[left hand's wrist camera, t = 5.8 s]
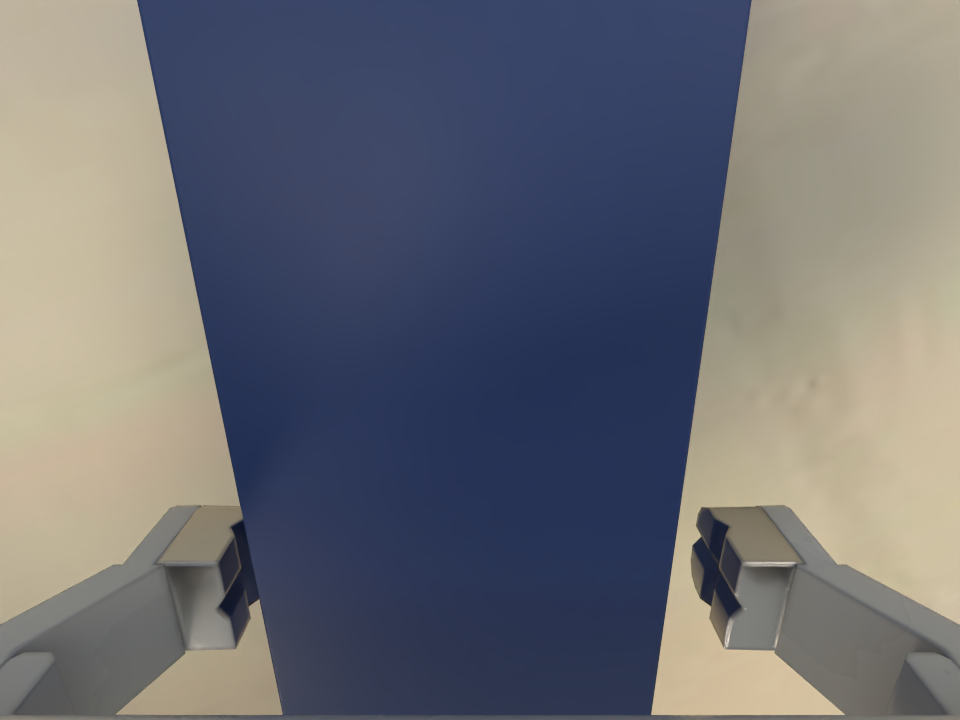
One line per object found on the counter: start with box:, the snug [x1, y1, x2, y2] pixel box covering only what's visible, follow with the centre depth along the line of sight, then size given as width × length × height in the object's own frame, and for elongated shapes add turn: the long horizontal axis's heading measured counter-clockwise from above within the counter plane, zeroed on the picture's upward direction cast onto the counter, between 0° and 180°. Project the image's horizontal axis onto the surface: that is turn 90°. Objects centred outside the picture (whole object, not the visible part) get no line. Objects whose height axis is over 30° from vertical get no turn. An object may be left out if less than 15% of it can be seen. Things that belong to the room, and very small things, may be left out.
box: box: [137, 0, 751, 715], centre depth 11 cm, size 23×6×11 cm, turn 1°
